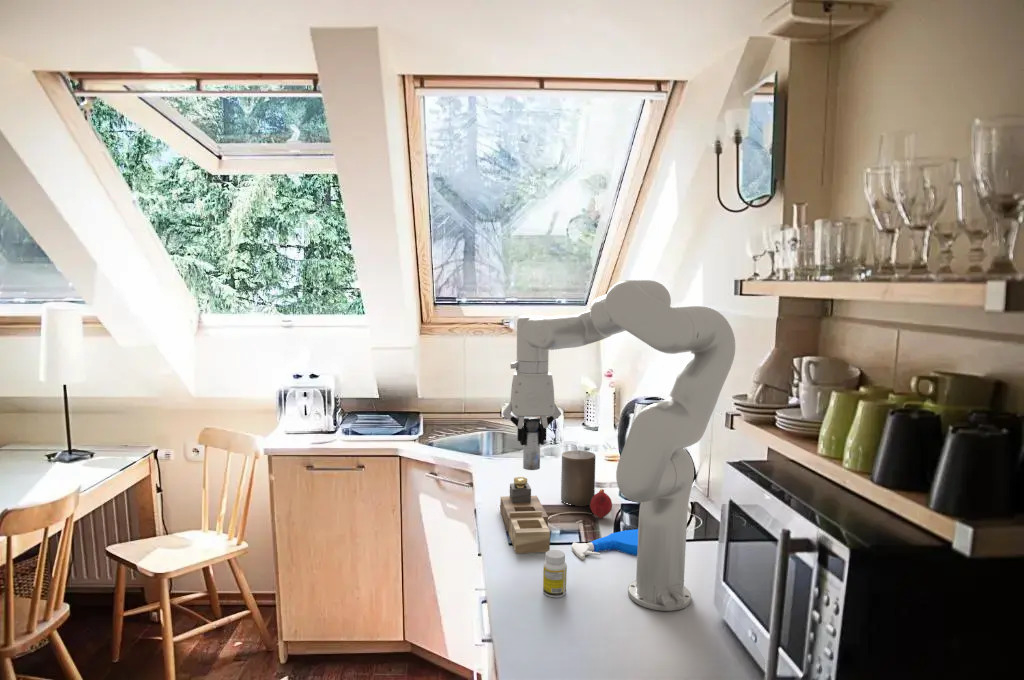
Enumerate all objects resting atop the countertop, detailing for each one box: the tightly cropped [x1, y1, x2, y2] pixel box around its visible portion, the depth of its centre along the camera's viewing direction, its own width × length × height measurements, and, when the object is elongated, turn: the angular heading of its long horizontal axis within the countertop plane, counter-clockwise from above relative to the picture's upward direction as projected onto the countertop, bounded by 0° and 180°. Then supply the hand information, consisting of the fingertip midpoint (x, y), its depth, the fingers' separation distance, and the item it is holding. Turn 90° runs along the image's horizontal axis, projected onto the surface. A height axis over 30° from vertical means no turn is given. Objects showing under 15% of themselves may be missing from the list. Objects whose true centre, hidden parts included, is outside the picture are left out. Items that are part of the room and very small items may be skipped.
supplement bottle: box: [542, 549, 568, 599], centre depth 142 cm, size 5×5×8 cm
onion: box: [589, 488, 613, 519], centre depth 184 cm, size 6×6×8 cm
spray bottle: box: [570, 528, 638, 561], centre depth 165 cm, size 3×11×24 cm
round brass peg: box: [513, 476, 528, 488], centre depth 186 cm, size 4×4×4 cm
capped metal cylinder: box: [522, 416, 541, 471], centre depth 165 cm, size 4×4×12 cm
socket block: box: [499, 482, 549, 534], centre depth 181 cm, size 16×10×8 cm, turn 8°
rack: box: [508, 511, 551, 554], centre depth 167 cm, size 11×8×6 cm
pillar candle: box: [560, 449, 596, 507], centre depth 197 cm, size 10×10×15 cm
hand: (531, 442), depth 165 cm, fingers closed on capped metal cylinder, 4 cm apart
